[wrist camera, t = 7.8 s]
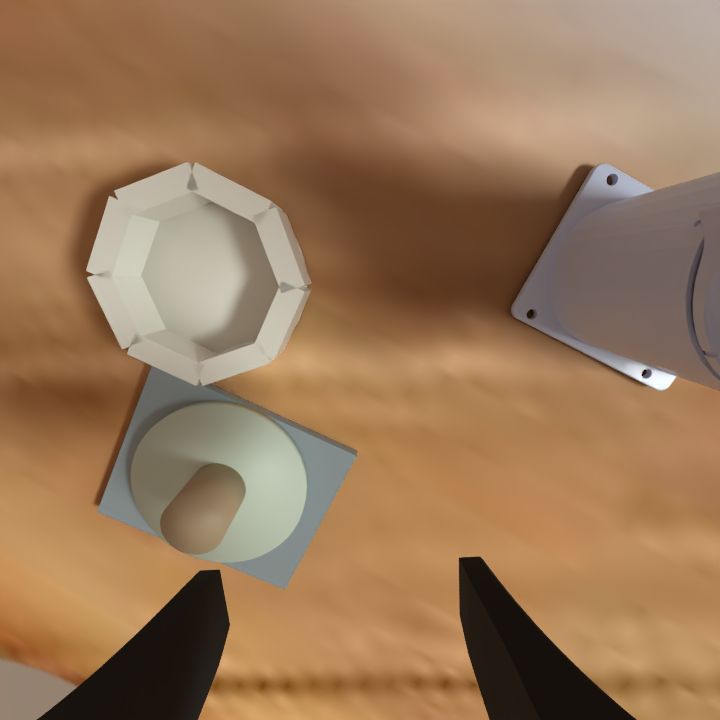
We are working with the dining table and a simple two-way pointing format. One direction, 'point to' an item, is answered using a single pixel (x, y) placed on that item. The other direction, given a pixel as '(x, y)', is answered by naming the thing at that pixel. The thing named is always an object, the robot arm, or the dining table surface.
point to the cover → (219, 481)
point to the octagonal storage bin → (198, 274)
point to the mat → (319, 452)
